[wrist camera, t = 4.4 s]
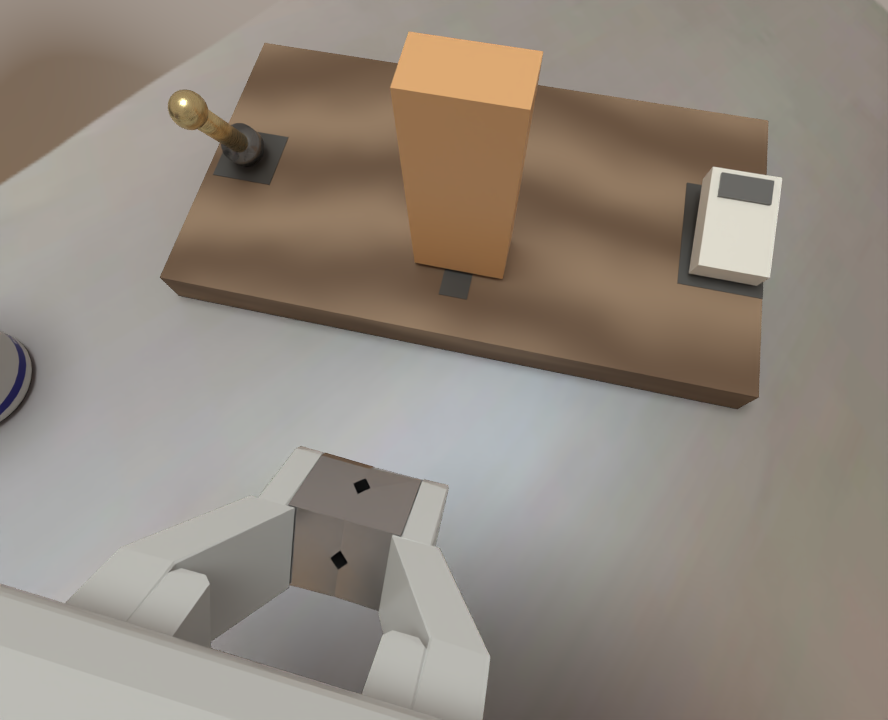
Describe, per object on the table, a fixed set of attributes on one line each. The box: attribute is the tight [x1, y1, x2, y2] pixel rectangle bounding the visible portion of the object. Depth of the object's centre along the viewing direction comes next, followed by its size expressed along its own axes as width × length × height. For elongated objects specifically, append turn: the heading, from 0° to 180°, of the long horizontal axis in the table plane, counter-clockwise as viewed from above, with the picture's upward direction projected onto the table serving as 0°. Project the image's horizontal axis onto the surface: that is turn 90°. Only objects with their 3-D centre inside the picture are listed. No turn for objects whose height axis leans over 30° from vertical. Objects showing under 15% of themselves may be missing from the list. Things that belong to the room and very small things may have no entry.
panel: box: [160, 43, 768, 409], centre depth 30 cm, size 16×29×2 cm, turn 77°
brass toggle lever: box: [168, 90, 264, 167], centre depth 26 cm, size 2×2×6 cm
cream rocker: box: [689, 167, 782, 286], centre depth 26 cm, size 5×3×1 cm, turn 167°
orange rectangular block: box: [390, 32, 543, 279], centre depth 22 cm, size 2×4×11 cm, turn 77°
